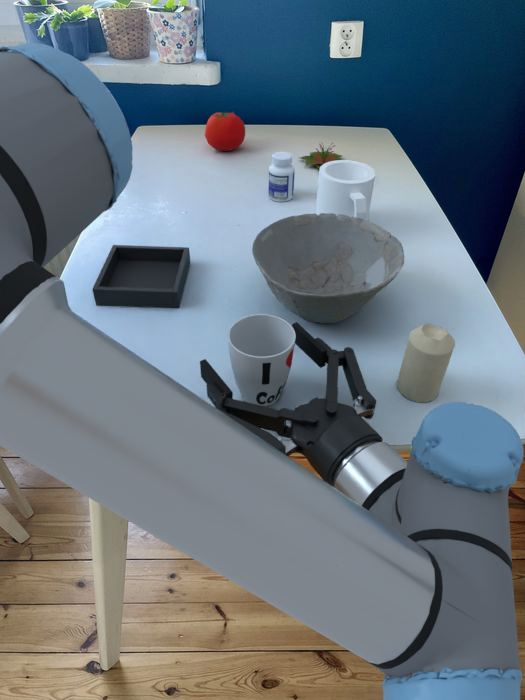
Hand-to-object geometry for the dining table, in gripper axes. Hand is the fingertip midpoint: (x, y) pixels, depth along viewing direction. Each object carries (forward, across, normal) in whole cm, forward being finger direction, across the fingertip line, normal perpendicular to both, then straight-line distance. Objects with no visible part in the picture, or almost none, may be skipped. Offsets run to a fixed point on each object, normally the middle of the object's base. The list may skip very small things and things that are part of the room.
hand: (250, 348), depth 69 cm
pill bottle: (+43, +34, -6) cm, 55 cm away
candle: (-13, +18, -6) cm, 23 cm away
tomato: (+72, +37, -6) cm, 81 cm away
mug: (+26, +37, -6) cm, 46 cm away
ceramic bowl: (+9, +19, -6) cm, 22 cm away
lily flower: (+52, +53, -6) cm, 74 cm away
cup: (-3, 0, -6) cm, 7 cm away
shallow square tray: (+28, -3, -6) cm, 29 cm away
